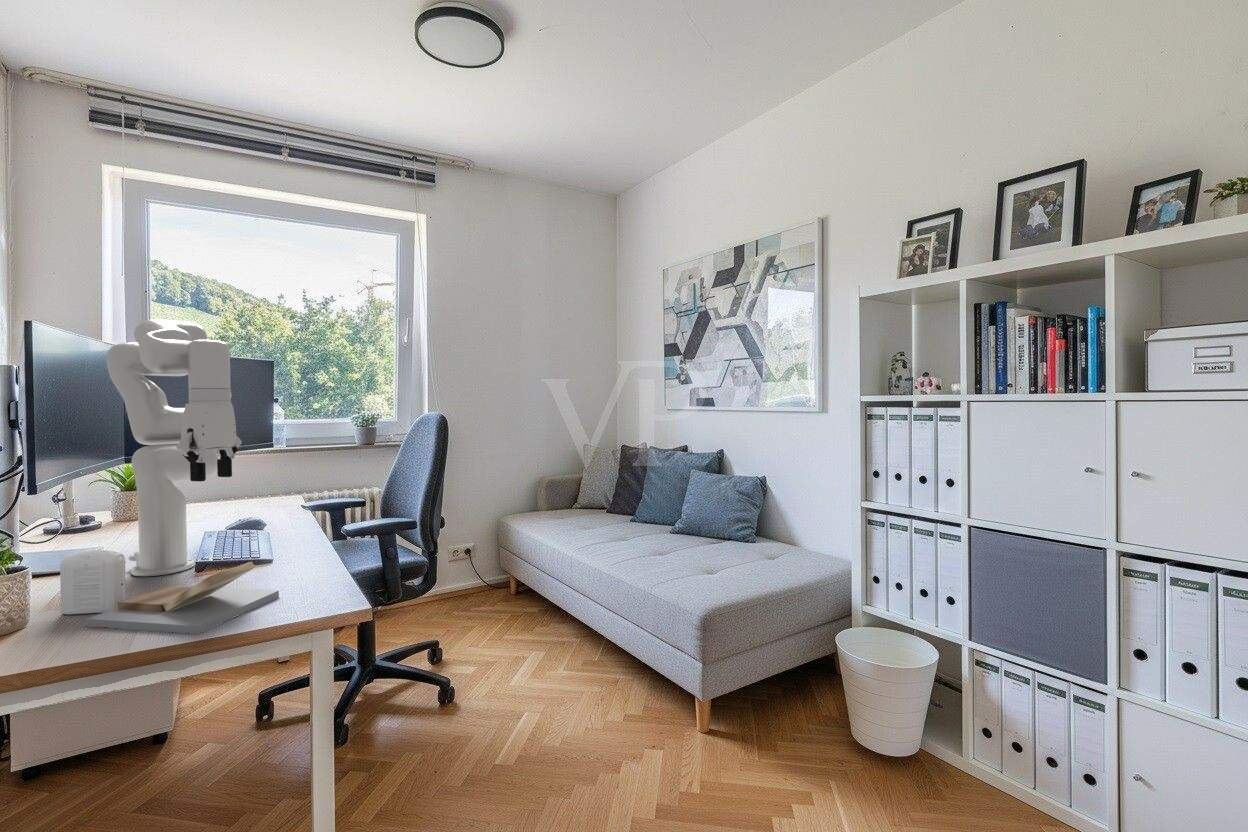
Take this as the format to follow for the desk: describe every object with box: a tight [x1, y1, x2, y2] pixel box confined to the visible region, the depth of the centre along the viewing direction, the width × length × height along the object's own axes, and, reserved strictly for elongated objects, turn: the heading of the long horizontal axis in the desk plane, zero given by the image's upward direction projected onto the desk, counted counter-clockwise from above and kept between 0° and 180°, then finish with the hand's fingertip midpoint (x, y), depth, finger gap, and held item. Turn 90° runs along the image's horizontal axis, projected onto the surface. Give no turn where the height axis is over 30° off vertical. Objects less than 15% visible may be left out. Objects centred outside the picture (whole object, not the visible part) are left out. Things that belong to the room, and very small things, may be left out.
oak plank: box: [163, 561, 256, 611], centre depth 116 cm, size 12×10×2 cm
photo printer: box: [59, 549, 127, 615], centre depth 117 cm, size 10×4×12 cm, turn 103°
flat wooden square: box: [118, 585, 191, 612], centre depth 118 cm, size 10×10×2 cm
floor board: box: [85, 584, 280, 635], centre depth 117 cm, size 24×20×2 cm
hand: (211, 478), depth 127 cm, fingers open, 6 cm apart
